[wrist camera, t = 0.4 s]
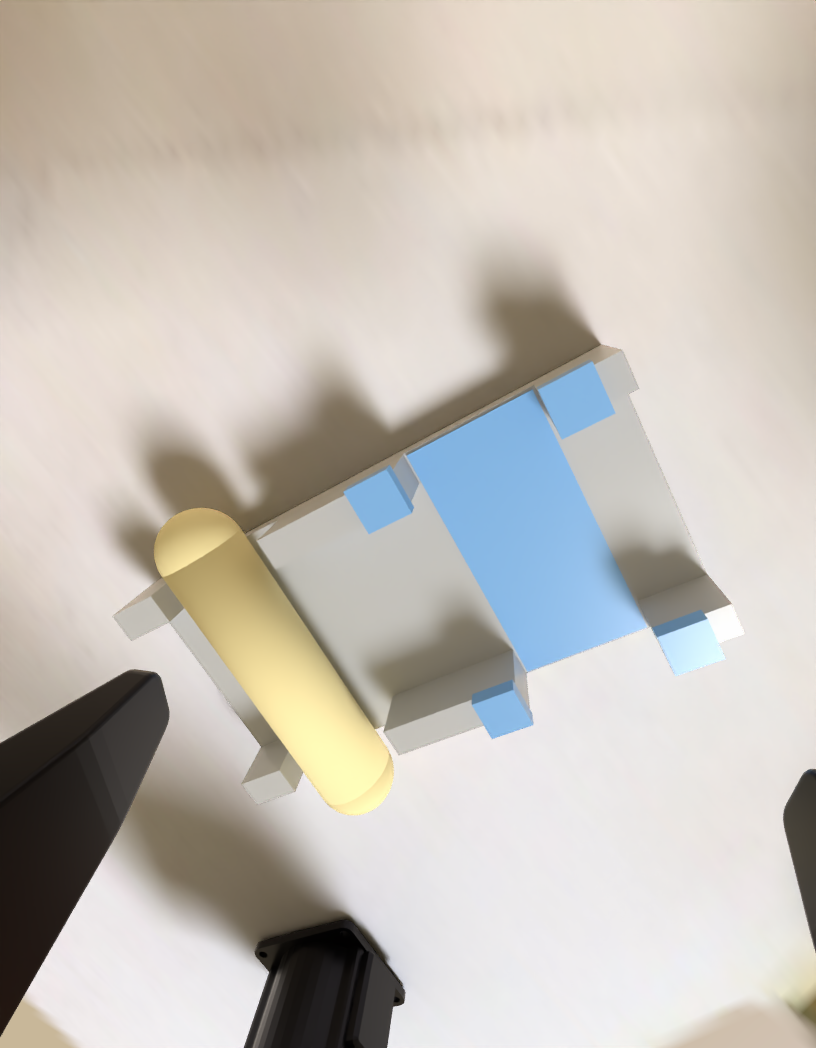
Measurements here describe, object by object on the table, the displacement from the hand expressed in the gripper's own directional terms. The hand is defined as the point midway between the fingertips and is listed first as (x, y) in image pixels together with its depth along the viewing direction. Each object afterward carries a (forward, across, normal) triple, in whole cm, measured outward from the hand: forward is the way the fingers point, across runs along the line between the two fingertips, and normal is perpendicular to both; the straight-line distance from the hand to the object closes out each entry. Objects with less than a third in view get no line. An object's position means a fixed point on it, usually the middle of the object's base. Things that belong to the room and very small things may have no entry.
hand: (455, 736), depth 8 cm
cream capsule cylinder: (+11, +7, +9) cm, 16 cm away
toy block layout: (+13, +2, +7) cm, 15 cm away
